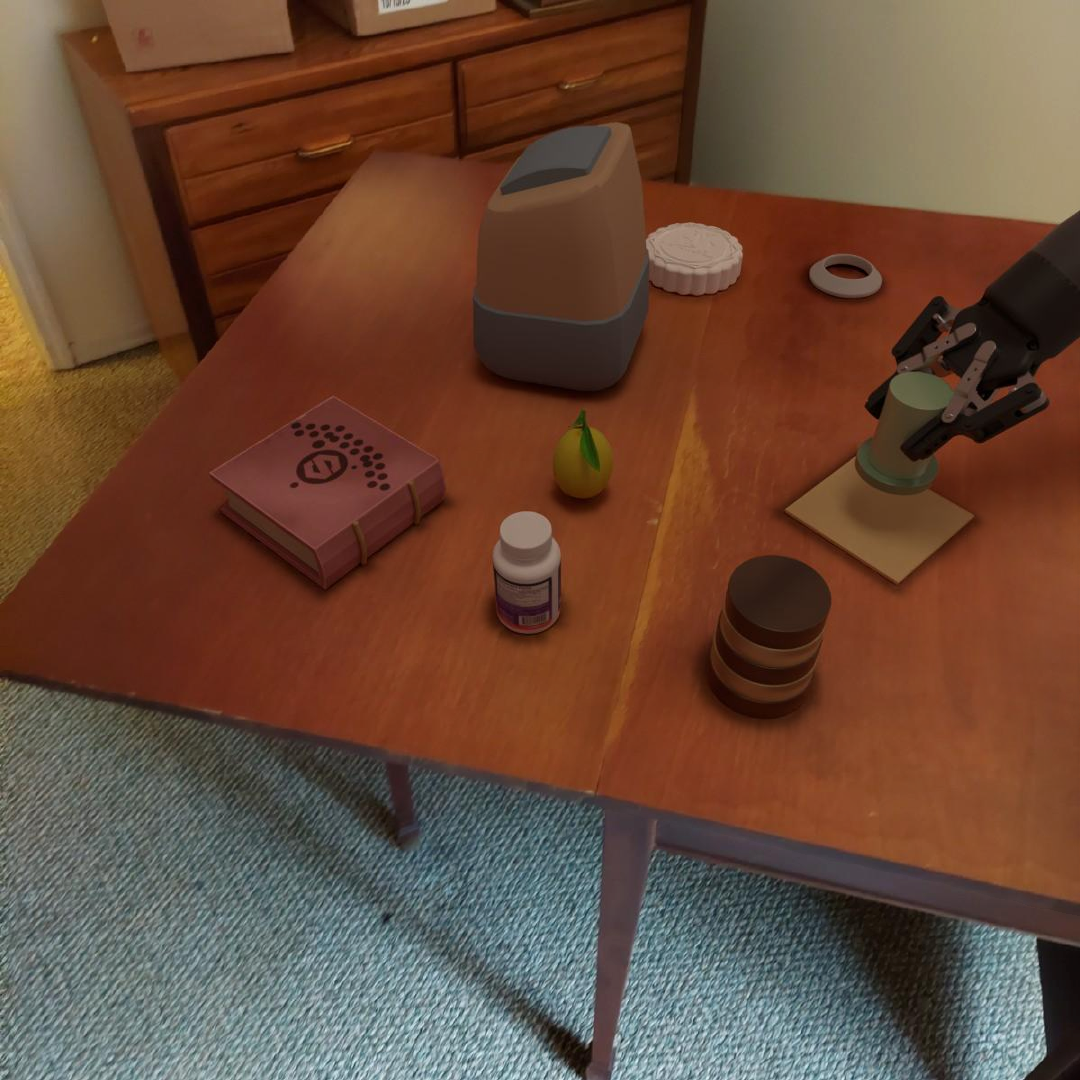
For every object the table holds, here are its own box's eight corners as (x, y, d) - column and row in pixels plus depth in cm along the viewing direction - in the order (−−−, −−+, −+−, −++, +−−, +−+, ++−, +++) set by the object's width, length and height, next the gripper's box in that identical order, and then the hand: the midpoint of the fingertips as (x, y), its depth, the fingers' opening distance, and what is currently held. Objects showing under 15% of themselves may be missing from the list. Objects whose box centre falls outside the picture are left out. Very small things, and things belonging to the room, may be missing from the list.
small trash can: (512, 300, 112) (505, 98, 95) (652, 321, 109) (670, 115, 92) (465, 384, 101) (448, 171, 84) (620, 410, 98) (634, 194, 81)
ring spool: (951, 470, 83) (982, 391, 76) (906, 507, 80) (935, 428, 73) (884, 432, 86) (909, 354, 80) (838, 466, 83) (861, 388, 77)
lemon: (597, 527, 86) (601, 443, 79) (539, 507, 88) (538, 423, 81) (626, 482, 90) (632, 398, 83) (570, 464, 92) (572, 380, 85)
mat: (973, 518, 87) (974, 515, 86) (897, 585, 81) (898, 582, 81) (861, 453, 93) (862, 450, 92) (784, 512, 87) (784, 509, 87)
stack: (830, 677, 75) (860, 594, 67) (765, 737, 71) (789, 656, 64) (750, 618, 79) (770, 534, 71) (685, 672, 75) (699, 589, 68)
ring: (871, 261, 117) (875, 248, 116) (888, 299, 112) (892, 285, 110) (803, 261, 117) (805, 248, 116) (816, 299, 112) (819, 285, 110)
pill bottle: (518, 577, 82) (514, 495, 75) (572, 601, 80) (574, 519, 73) (483, 619, 79) (476, 538, 72) (539, 645, 77) (538, 564, 70)
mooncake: (756, 262, 117) (760, 235, 115) (712, 307, 111) (716, 280, 108) (669, 235, 122) (672, 209, 119) (622, 278, 115) (624, 250, 113)
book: (332, 594, 81) (321, 554, 77) (223, 512, 88) (208, 472, 84) (450, 504, 88) (446, 463, 85) (341, 435, 95) (333, 395, 92)
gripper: (992, 211, 75) (823, 364, 82) (1117, 307, 66) (916, 472, 72) (1026, 261, 80) (864, 402, 87) (1147, 357, 71) (956, 508, 77)
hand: (889, 433), depth 79 cm, fingers closed on ring spool, 5 cm apart
